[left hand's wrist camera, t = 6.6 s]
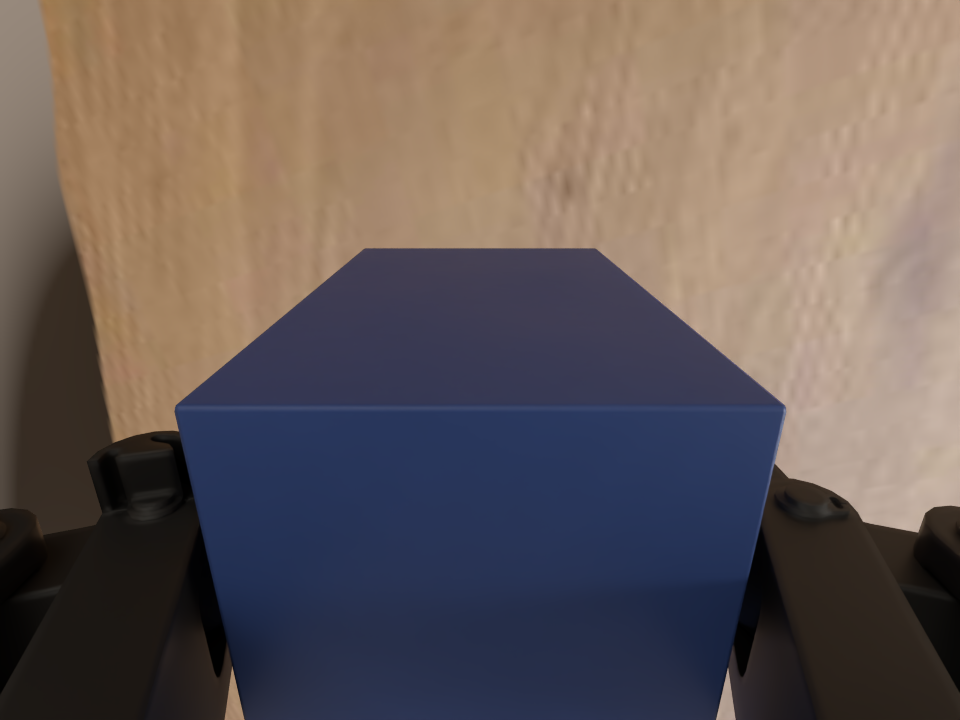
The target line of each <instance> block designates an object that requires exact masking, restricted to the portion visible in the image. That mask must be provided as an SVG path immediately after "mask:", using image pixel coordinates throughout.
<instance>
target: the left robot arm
mask: <svg viewBox="0 0 960 720" xmlns="http://www.w3.org/2000/svg"><path fill="white" fill-rule="evenodd" d="M87 464H88V467H89V470H90V474H91V477H92V480H93V483H94V487H95V490H96V493H97V497H98V500H99V503H100V507H101V510H102V515H101V517H100V519H99V520H98V522H97V524H96V525H94V526H89V527H84V528H79V529H74V530H68V531H63V532H58V533H52V534H47V535H43V534H42V531H41V528H40V525H39V523H38V520H37V517H36V515H34V514H33V513H31V512H30V511H28V510H24V509H14V508H10V509H2V510H0V720H224V719H225V712H226V705H227V698H228V691H229V684H230V677H231V670H232V662H231V658H230V653H229V649H228V644H227V640H226V636H225V631H224V627H223V622H222V618H221V614H220V609H219V605H218V600H217V596H216V592H215V587H214V583H213V578H212V574H211V570H210V565H209V561H208V556H207V552H206V548H205V543H204V539H203V534H202V530H201V526H200V521H199V517H198V512H197V508H196V504H195V499H194V495H193V490H192V486H191V482H190V477H189V473H188V468H187V464H186V460H185V455H184V451H183V446H182V442H181V438H180V433H179V432H178V431H156V432H150V433H145V434H140V435H135V436H132V437H129V438H126V439H123V440H120V441H118V442H115V443H113V444H111V445H109V446H107V447H105V448H103V449H102V450H100V451H98V452H97V453H96V454H95V455H93V456H92V457H91V458H90V459H89V460H88V461H87ZM728 669H729V676H730V683H731V690H732V697H733V704H734V711H735V718H736V720H960V507H956V506H942V507H934V508H932V509H931V510H929V511H928V512H926V513H925V516H924V518H923V521H922V524H921V527H920V530H919V532H918V533H917V532H911V531H906V530H901V529H895V528H890V527H885V526H879V525H874V524H869V523H865V522H863V521H862V519H861V518H860V516H859V514H858V512H857V511H856V510H855V509H854V508H853V507H852V506H851V505H850V503H849V502H848V501H846V500H845V499H843V498H842V497H840V496H839V495H837V494H835V493H834V492H832V491H830V490H828V489H825V488H823V487H820V486H818V485H816V484H813V483H809V482H805V481H800V480H796V479H789V478H788V477H787V476H786V475H785V474H784V473H783V472H782V471H781V470H780V469H779V468H778V467H777V466H776V465H775V463H774V468H773V472H772V476H771V481H770V485H769V489H768V494H767V498H766V503H765V507H764V511H763V516H762V520H761V525H760V529H759V533H758V538H757V542H756V546H755V551H754V555H753V560H752V564H751V568H750V573H749V577H748V581H747V586H746V590H745V595H744V599H743V603H742V608H741V612H740V617H739V621H738V625H737V630H736V634H735V638H734V643H733V647H732V652H731V656H730V660H729V665H728Z"/></svg>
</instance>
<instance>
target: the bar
mask: <svg viewBox="0 0 960 720" xmlns="http://www.w3.org/2000/svg"><path fill="white" fill-rule="evenodd" d="M785 415H786V407H785V405H784V404H782V403H781V402H780V401H779V400H778V399H776V398H775V397H774V396H773V395H772V394H770V393H769V392H768V391H767V390H766V389H764V388H763V387H762V386H761V385H760V384H758V383H757V382H756V381H755V380H754V379H752V378H751V377H750V376H749V375H747V374H746V373H745V372H744V371H743V370H741V369H740V368H739V367H738V366H737V365H735V364H734V363H733V362H732V361H731V360H729V359H728V358H727V357H726V356H725V355H723V354H722V353H721V352H720V351H719V350H717V349H716V348H715V347H714V346H713V345H711V344H710V343H709V342H708V341H706V340H705V339H704V338H703V337H702V336H700V335H699V334H698V333H697V332H696V331H694V330H693V329H692V328H691V327H690V326H688V325H687V324H686V323H685V322H684V321H682V320H681V319H680V318H679V317H678V316H676V315H675V314H674V313H673V312H672V311H670V310H669V309H668V308H667V307H665V306H664V305H663V304H662V303H661V302H659V301H658V300H657V299H656V298H655V297H653V296H652V295H651V294H650V293H649V292H647V291H646V290H645V289H644V288H643V287H641V286H640V285H639V284H638V283H637V282H635V281H634V280H633V279H632V278H631V277H629V276H628V275H627V274H626V273H624V272H623V271H622V270H621V269H620V268H618V267H617V266H616V265H615V264H614V263H612V262H611V261H610V260H609V259H608V258H606V257H605V256H604V255H603V254H602V253H600V252H599V251H598V250H597V249H364V250H362V251H361V252H360V253H359V254H358V255H356V256H355V257H354V258H353V259H352V260H350V261H349V262H348V263H347V264H346V265H344V266H343V267H342V268H341V269H340V270H338V271H337V272H336V273H335V274H333V275H332V276H331V277H330V278H329V279H327V280H326V281H325V282H324V283H323V284H321V285H320V286H319V287H318V288H317V289H315V290H314V291H313V292H312V293H311V294H309V295H308V296H307V297H306V298H305V299H303V300H302V301H301V302H300V303H299V304H297V305H296V306H295V307H294V308H293V309H291V310H290V311H289V312H288V313H287V314H285V315H284V316H283V317H282V318H281V319H279V320H278V321H277V322H276V323H275V324H273V325H272V326H271V327H270V328H269V329H267V330H266V331H265V332H264V333H262V334H261V335H260V336H259V337H258V338H256V339H255V340H254V341H253V342H252V343H250V344H249V345H248V346H247V347H246V348H244V349H243V350H242V351H241V352H240V353H238V354H237V355H236V356H235V357H234V358H232V359H231V360H230V361H229V362H228V363H226V364H225V365H224V366H223V367H222V368H220V369H219V370H218V371H217V372H216V373H214V374H213V375H212V376H211V377H210V378H208V379H207V380H206V381H205V382H204V383H202V384H201V385H200V386H199V387H198V388H196V389H195V390H194V391H193V392H192V393H190V394H189V395H188V396H187V397H185V398H184V399H183V400H182V401H181V402H179V403H178V404H177V405H176V407H175V416H176V420H177V424H178V429H179V433H180V438H181V442H182V446H183V451H184V455H185V460H186V464H187V468H188V473H189V477H190V482H191V486H192V490H193V495H194V499H195V504H196V508H197V512H198V517H199V521H200V526H201V530H202V534H203V539H204V543H205V548H206V552H207V556H208V561H209V565H210V570H211V574H212V578H213V583H214V587H215V592H216V596H217V600H218V605H219V609H220V614H221V618H222V622H223V627H224V631H225V636H226V640H227V644H228V649H229V653H230V658H231V662H232V666H233V671H234V675H235V680H236V684H237V688H238V693H239V697H240V702H241V706H242V710H243V715H244V719H245V720H716V717H717V713H718V709H719V704H720V700H721V695H722V691H723V687H724V682H725V678H726V674H727V669H728V665H729V660H730V656H731V652H732V647H733V643H734V638H735V634H736V630H737V625H738V621H739V617H740V612H741V608H742V603H743V599H744V595H745V590H746V586H747V581H748V577H749V573H750V568H751V564H752V560H753V555H754V551H755V546H756V542H757V538H758V533H759V529H760V525H761V520H762V516H763V511H764V507H765V503H766V498H767V494H768V489H769V485H770V481H771V476H772V472H773V468H774V463H775V459H776V454H777V450H778V446H779V441H780V437H781V432H782V428H783V424H784V419H785Z"/></svg>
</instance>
